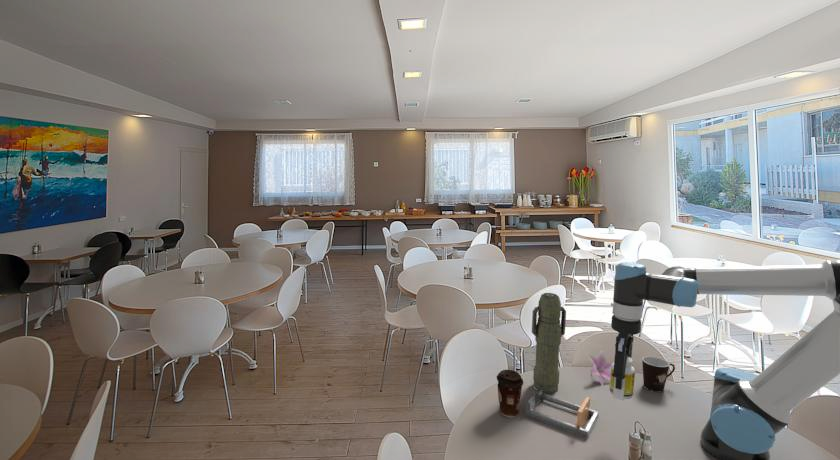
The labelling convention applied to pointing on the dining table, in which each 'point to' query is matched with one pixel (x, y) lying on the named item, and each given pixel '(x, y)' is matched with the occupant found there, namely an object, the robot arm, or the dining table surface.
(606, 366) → the lily
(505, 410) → the coffee cup
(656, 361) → the coffee mug
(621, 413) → the dining table surface
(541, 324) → the thermos
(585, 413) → the pusher
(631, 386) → the pill bottle
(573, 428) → the lane
